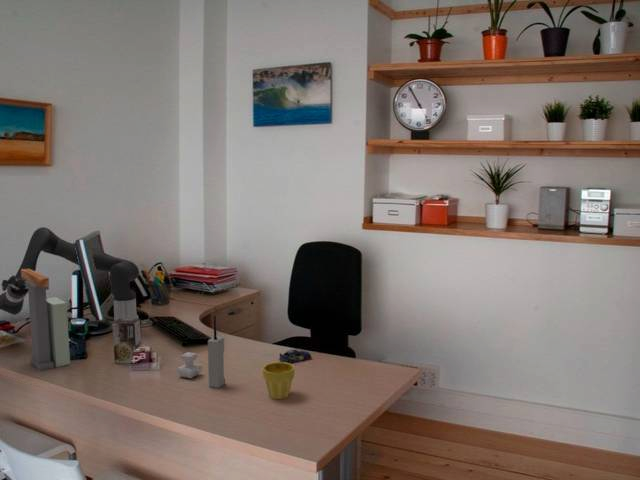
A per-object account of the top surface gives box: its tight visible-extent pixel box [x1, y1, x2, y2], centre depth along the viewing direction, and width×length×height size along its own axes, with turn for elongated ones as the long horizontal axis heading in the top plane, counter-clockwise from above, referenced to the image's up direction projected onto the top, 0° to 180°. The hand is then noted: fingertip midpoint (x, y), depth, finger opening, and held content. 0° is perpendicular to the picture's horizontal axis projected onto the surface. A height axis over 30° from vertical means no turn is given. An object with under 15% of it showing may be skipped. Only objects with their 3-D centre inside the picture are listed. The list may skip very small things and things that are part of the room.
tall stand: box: [25, 280, 55, 371], centre depth 232 cm, size 5×12×32 cm, turn 40°
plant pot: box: [262, 361, 295, 400], centre depth 204 cm, size 10×10×10 cm
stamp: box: [176, 351, 203, 379], centre depth 222 cm, size 9×7×8 cm
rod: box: [21, 269, 50, 287], centre depth 231 cm, size 3×24×3 cm, turn 41°
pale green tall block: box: [46, 296, 71, 368], centre depth 236 cm, size 5×12×24 cm, turn 40°
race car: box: [278, 349, 312, 364], centre depth 240 cm, size 15×7×4 cm, turn 128°
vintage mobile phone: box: [207, 315, 226, 389], centre depth 212 cm, size 4×5×25 cm
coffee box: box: [111, 318, 143, 365], centre depth 237 cm, size 9×6×16 cm
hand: (25, 276), depth 240 cm, fingers open, 8 cm apart
